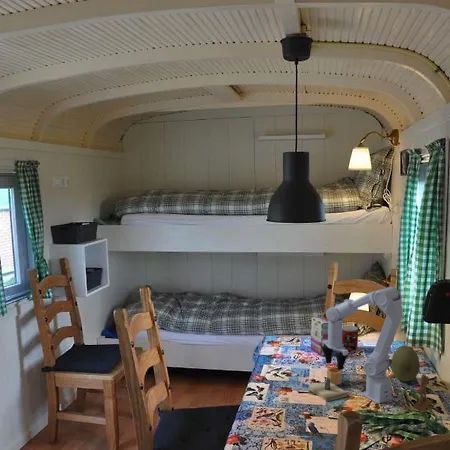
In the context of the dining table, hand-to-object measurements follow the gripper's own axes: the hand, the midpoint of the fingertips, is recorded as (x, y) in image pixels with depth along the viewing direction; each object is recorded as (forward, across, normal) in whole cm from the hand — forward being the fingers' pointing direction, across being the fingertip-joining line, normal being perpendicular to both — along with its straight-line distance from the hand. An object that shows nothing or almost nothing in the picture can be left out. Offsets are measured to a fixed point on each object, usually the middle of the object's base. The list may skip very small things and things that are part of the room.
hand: (334, 366), depth 202 cm
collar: (+7, 0, 0) cm, 7 cm away
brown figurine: (+7, -32, -17) cm, 36 cm away
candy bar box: (+7, +31, -16) cm, 36 cm away
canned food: (+7, +28, -32) cm, 43 cm away
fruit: (+7, -12, -28) cm, 31 cm away
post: (+5, -7, +9) cm, 13 cm away
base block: (+7, -7, +9) cm, 13 cm away
